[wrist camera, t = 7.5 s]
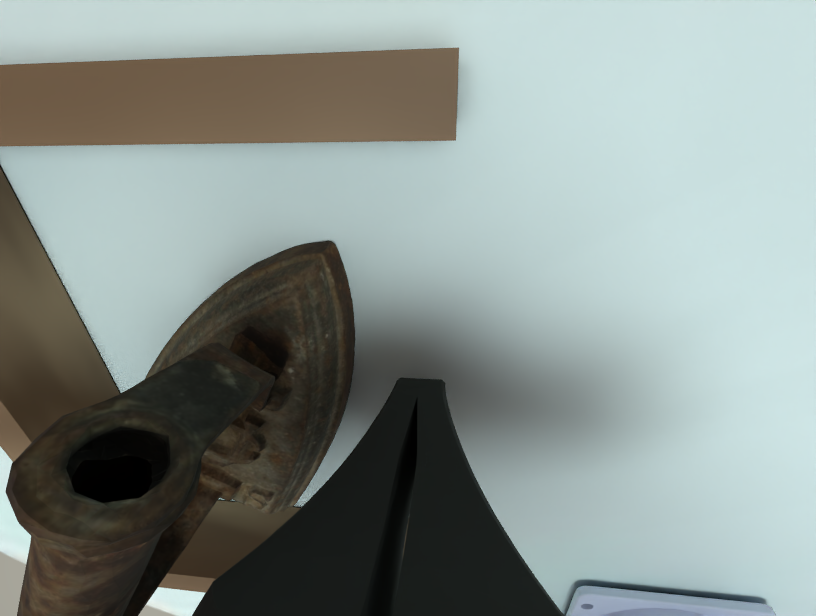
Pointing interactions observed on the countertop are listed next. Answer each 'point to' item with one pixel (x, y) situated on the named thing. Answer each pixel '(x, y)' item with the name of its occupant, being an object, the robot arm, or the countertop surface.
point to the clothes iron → (189, 437)
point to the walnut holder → (179, 124)
